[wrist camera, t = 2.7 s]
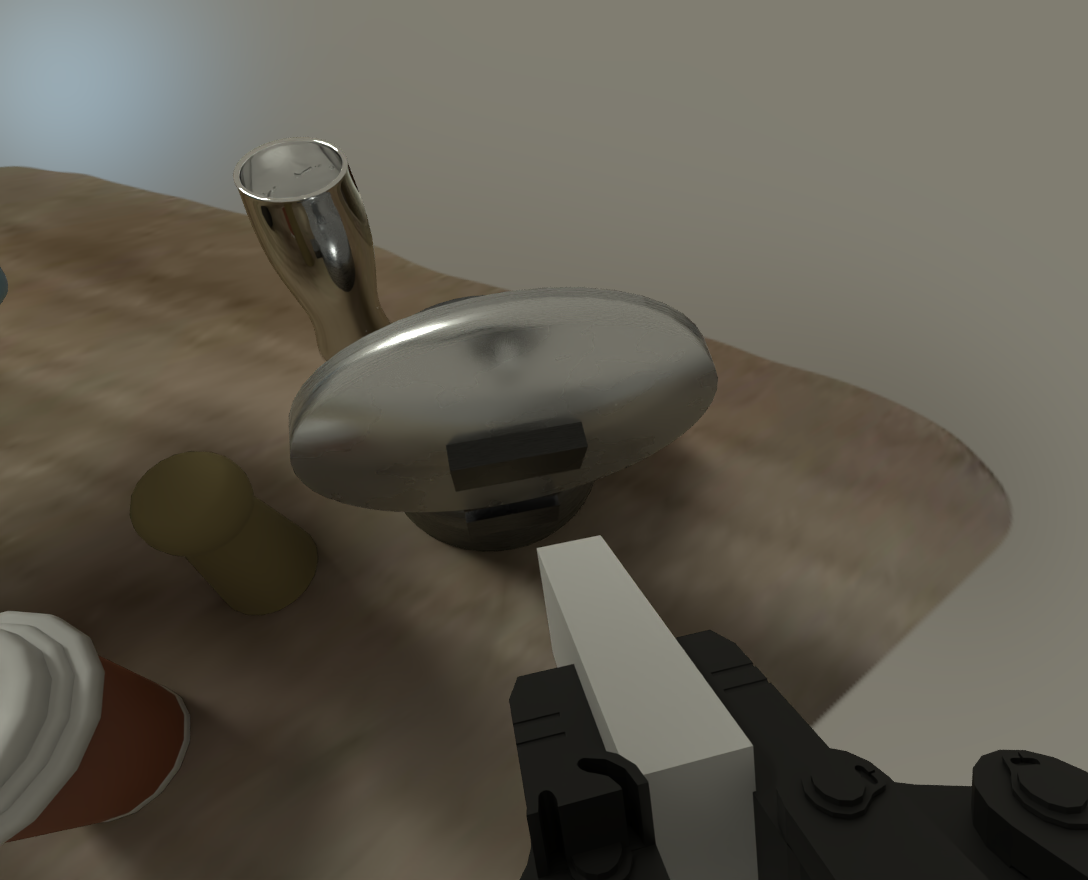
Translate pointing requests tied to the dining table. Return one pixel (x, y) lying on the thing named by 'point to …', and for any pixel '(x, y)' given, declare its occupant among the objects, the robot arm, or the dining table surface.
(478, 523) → the cooker pot
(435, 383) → the lid
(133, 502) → the cork
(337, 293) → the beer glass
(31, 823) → the coffee cup
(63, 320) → the dining table surface
